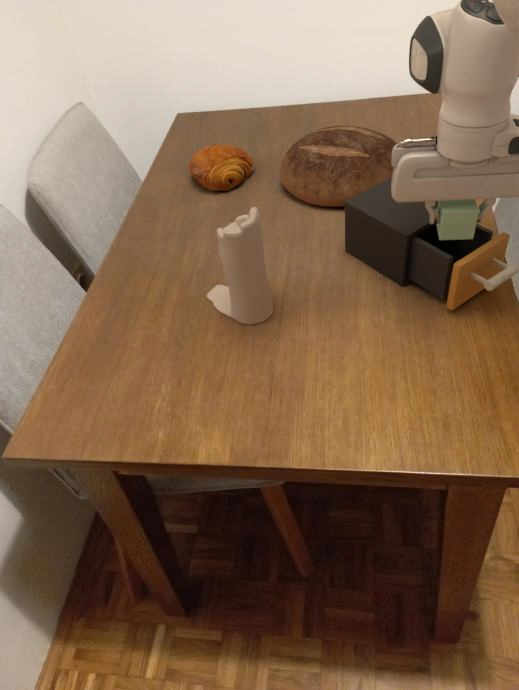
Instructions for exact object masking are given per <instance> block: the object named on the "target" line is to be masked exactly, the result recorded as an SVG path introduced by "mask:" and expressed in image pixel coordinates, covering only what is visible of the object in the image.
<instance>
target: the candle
mask: <svg viewBox="0 0 519 690" xmlns="http://www.w3.org/2000/svg"><path fill="white" fill-rule="evenodd" d="M216 238H217V242H218V255H219V258H220V260H221V264H222V267H223V273H224V275H225V279H226V283H227V285H223V284H216V285H215V286H214V287H213V288H212V289H211V290H209V292H208V293H207V294H206V298H207V299H208V300H209V301H211V302H212V305H213V307H214V309H216V310H217V311H218V312H219V313H221V314H223V315H224V316H226V317H229V318H231V319H233V320H235V321H236V322H238V323H240V324H242V325H250V326H251V325H257V324H261V323H263V322H265V321H267V320H268V319H269V318H270V317H271V316H272V314H273V312H274V302H273V295H272V294H273V293H272V288H271V284H270V281H269V276H268V272H267V269H266V262H265V254H264V253H265V252H264V235H263V225H262V217H261V214H260V211H259V209H258V207H256V206H252V207H250V210H249V211H248V214H242V215H239V216H236V218H235V221H233V222H231V223H229V224H228V225H227V226H225V227H218V228H217V229H216Z"/></svg>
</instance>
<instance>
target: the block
mask: <svg viewBox="0 0 519 690" xmlns="http://www.w3.org/2000/svg"><path fill="white" fill-rule="evenodd" d="M478 207H479V206H478V204H477V199H468V200H447V201H439V202H438V209H440V214H441V218H440V224H436V226H437V231H438V236H439V240H463V239H473V237H474V232H475V228H476V223H477V224H478V222H477V218H478V213H479V210H478Z"/></svg>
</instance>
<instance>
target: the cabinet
mask: <svg viewBox="0 0 519 690" xmlns="http://www.w3.org/2000/svg"><path fill="white" fill-rule="evenodd" d="M391 181H392V177H390V178H388V179H387V180H385V181H383V182H381V183H379V184H377V185H375V186H373V187H372V188H370V189H368V190H366V191H364V192H362V193H360V194H358V195H356V196H355V197H353V198H351V199H349V200H347V201H345V206H344V245H345V246H344V250H345V252H347V254H350V255H351V256H353V257H354V258H356V259H357V260H359V261H361V262H362V263H364V264H365V265H366V266H368V267H370V268H371V269H373V270H375V271H376V272H378V273H380V274H381V275H383V276H384V277H385V278H387V279H388V280H390V281H392V282H394V283H395V284H397V285H398V286H400V287H401V288H403V287H405V286H406V285H408V284H409V283H411V282H413V281H412V280H410V279H409V278H407V277H406V272H407V262H408V252H409V242H410V238H411V237H412V236H414V235H416V234H417V233H419V232H421V231H423V230H424V229H426V228H428V227H429V226H431V225H433V224H430V222H429V212H428V211H427V209H426V207H425V203H424V202H404V203H397V202H396V201H395V200H394V199H393V198H392V195H391ZM438 202H439V201H435V206H433V207H434V209H438Z"/></svg>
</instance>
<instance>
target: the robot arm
mask: <svg viewBox="0 0 519 690" xmlns="http://www.w3.org/2000/svg"><path fill="white" fill-rule="evenodd" d="M408 71H409V76H410V77H411V79H412V80H413V81H414V82H415V83H416V84H417V85H419V86H420V87H421V88H422V89H424V90H426V91H427V92H429V93H430V94H433V95H436V94H437V95H440V96H441V100H442V102H441V106H440V109H439V112H438V119H437V126H436V127H437V128H436V135H435V136H423V137H418V138H417V137H416V138H412V137H408V138H403V139H402V141H400V142H397V143H398V144H396V145H395V146H394V147H393V149H392V152H391V165H392V167H393V168H394V169H393V174H392V181H391V195H392V198H393V199H394V200H395V201H396V202H397V203H404V202H424V203H425V207H426V209H427V211H428V212H429V222H430V224H440V218H441V214H440V209H434V207H433V206H435V201H447V200H468V199H475V200H483V201H481V203H480V205H479V206H477V207H478V210H479V213H478V218H477V223H484V221H485V218H486V217H485V216H486V214H487V213H488V212H489V211H490V210H491V209H492V208H493V207H494V206H495V205H496V202H497V199H509V198H510V199H511V198H519V115H518V114H514V113H511V112H512V111H511V110H512V106H511V98H512V97H511V96H512V93H513V90H514V88H515V86H516V84H517V82H518V79H519V0H459V2H458V3H457V4H456V6H455V7H452V8H448V9H445V10H440V11H437V12H434V13H432V14H430V15H426V16H425V17H424V18H423V19H422V20H421V21H420V22H419V24H418V25H417V26H416V28H415V30H414V32H413V33H412V36H411V37H410V42H409V52H408Z"/></svg>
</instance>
